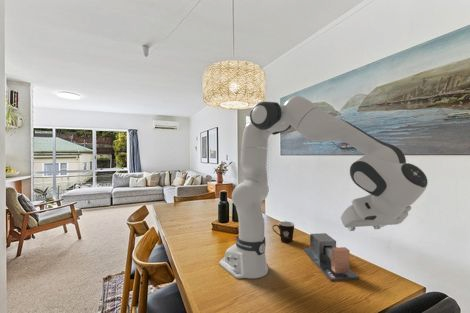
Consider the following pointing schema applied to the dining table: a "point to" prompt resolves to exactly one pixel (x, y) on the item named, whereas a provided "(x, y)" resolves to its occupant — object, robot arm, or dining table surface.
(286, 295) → the dining table surface
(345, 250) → the shaft
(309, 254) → the housing
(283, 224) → the coffee mug
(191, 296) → the dining table surface
